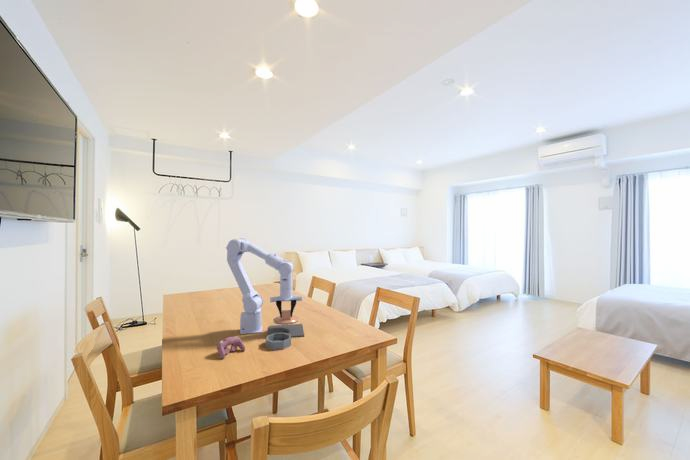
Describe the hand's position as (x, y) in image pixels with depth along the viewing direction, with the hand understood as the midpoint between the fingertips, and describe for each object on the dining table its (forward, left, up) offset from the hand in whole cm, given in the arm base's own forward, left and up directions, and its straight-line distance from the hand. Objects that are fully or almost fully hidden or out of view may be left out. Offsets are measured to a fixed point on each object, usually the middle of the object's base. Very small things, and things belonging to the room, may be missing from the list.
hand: (286, 316), depth 134 cm
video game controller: (-21, -19, -7) cm, 29 cm away
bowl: (-3, -14, -7) cm, 16 cm away
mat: (0, 0, -7) cm, 7 cm away
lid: (0, 0, -2) cm, 2 cm away
